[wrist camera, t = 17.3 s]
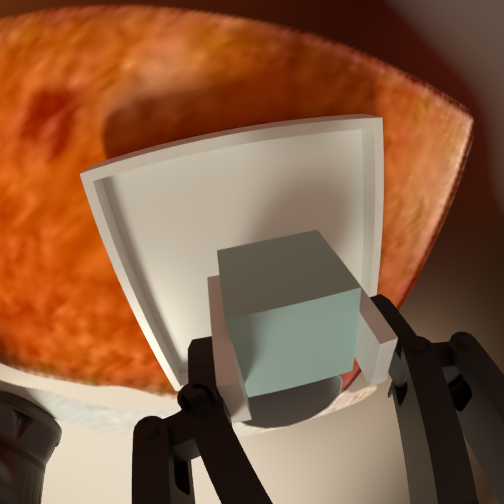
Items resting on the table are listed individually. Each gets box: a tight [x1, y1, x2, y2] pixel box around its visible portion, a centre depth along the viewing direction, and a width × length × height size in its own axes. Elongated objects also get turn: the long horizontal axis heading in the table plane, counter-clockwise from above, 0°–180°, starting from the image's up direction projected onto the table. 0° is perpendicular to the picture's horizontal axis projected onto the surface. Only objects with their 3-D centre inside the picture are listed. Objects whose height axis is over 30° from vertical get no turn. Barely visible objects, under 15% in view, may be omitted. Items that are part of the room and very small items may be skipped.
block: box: [217, 230, 361, 397], centre depth 14 cm, size 5×5×5 cm
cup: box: [241, 375, 343, 429], centre depth 24 cm, size 8×8×10 cm
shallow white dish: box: [80, 114, 384, 391], centre depth 26 cm, size 22×24×4 cm
